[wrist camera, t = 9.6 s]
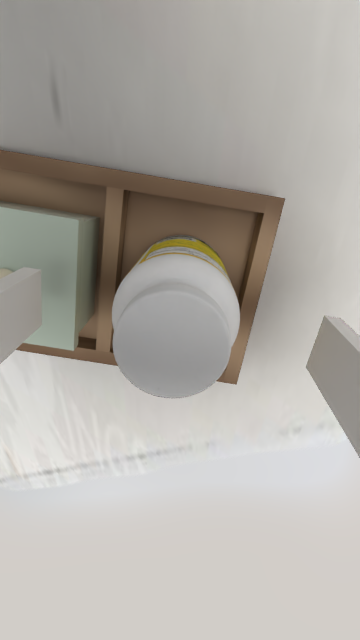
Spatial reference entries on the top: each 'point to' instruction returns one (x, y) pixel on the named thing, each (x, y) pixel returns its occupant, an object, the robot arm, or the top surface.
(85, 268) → the trinket box
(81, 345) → the organizer tray
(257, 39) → the top surface
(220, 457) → the top surface
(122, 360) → the pill bottle
